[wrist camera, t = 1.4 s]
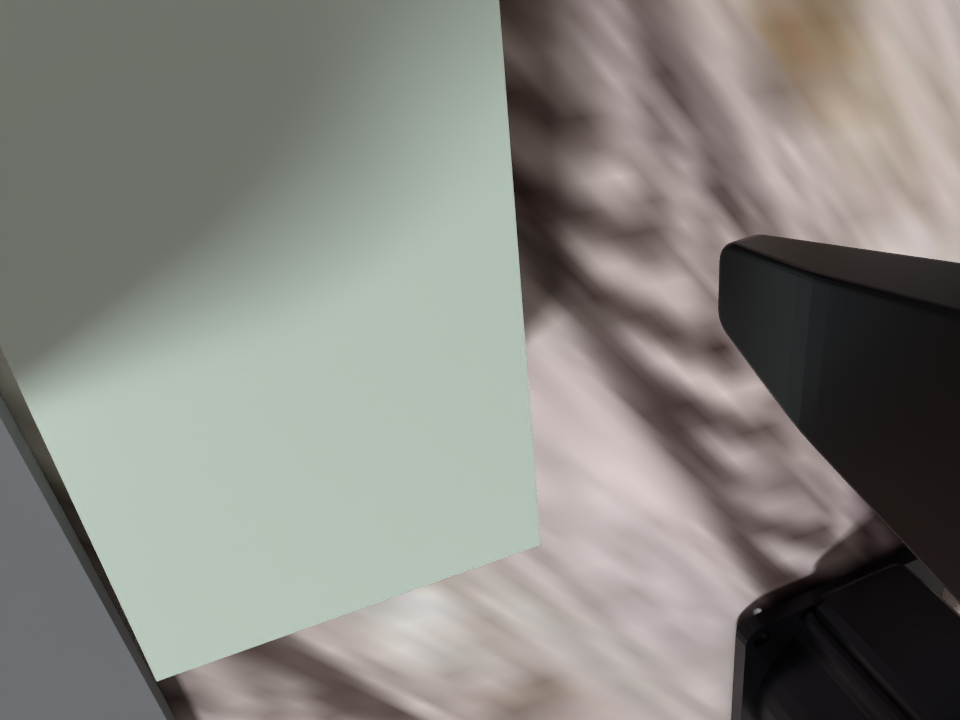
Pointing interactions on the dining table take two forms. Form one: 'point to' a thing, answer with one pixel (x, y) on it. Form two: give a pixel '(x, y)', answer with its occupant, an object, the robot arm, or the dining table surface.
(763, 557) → the dining table surface
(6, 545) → the rubber mat
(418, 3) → the card case
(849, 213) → the dining table surface
